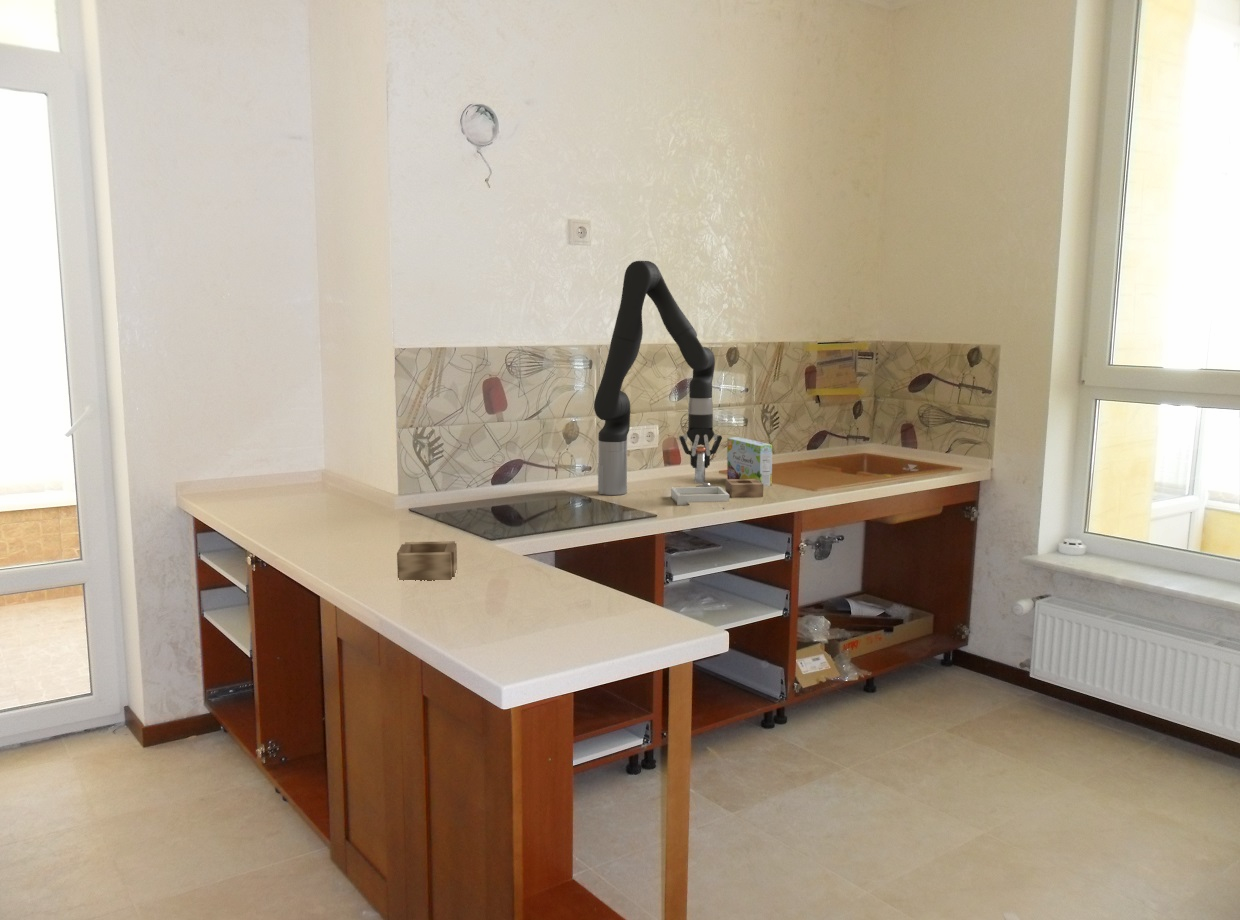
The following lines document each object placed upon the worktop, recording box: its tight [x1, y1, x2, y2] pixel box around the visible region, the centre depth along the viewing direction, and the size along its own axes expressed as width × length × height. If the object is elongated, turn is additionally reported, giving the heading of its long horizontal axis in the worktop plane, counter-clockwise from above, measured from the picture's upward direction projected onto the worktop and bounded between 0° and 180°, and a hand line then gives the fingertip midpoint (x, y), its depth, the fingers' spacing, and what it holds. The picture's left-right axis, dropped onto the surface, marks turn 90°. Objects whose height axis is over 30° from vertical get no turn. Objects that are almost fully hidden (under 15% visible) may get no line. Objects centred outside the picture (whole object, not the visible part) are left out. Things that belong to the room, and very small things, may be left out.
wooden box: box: [724, 478, 764, 499], centre depth 305 cm, size 10×10×5 cm
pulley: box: [695, 482, 718, 487], centre depth 310 cm, size 7×7×4 cm
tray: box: [670, 486, 730, 506], centre depth 300 cm, size 16×14×3 cm
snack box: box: [726, 436, 773, 487], centre depth 329 cm, size 21×6×15 cm, turn 25°
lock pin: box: [694, 445, 706, 484], centre depth 298 cm, size 4×4×11 cm
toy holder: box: [396, 540, 458, 581], centre depth 210 cm, size 12×12×7 cm
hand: (700, 467), depth 299 cm, fingers closed on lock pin, 3 cm apart
